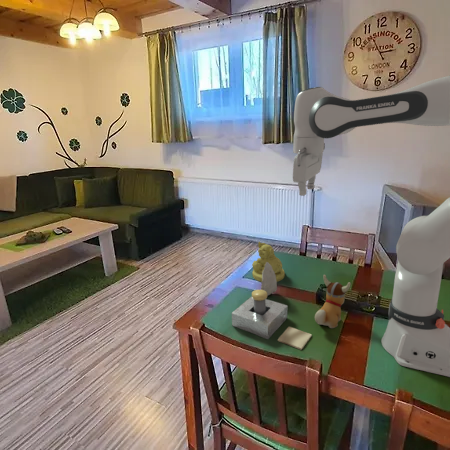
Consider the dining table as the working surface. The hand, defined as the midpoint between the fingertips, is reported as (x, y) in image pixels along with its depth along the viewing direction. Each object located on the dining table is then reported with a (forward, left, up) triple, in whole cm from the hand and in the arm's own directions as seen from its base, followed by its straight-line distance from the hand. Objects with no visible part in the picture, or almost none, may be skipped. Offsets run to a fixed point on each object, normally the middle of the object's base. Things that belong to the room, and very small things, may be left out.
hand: (306, 191), depth 102 cm
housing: (+12, +11, -45) cm, 48 cm away
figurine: (+27, -22, -45) cm, 57 cm away
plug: (+12, +11, -45) cm, 48 cm away
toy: (-8, -1, -45) cm, 46 cm away
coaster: (-2, +13, -45) cm, 47 cm away
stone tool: (+18, -6, -45) cm, 49 cm away
